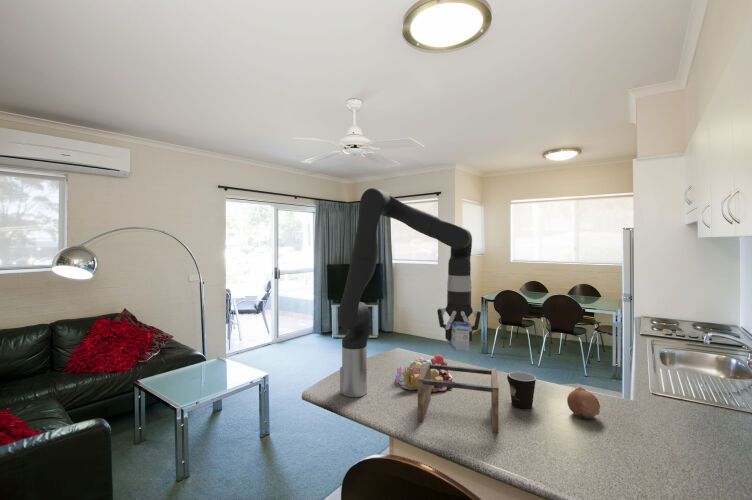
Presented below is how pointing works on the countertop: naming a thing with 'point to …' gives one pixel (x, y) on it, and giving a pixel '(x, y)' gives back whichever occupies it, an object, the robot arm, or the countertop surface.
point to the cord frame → (426, 383)
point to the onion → (583, 403)
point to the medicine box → (459, 336)
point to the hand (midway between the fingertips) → (458, 341)
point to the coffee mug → (521, 389)
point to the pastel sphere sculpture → (411, 375)
